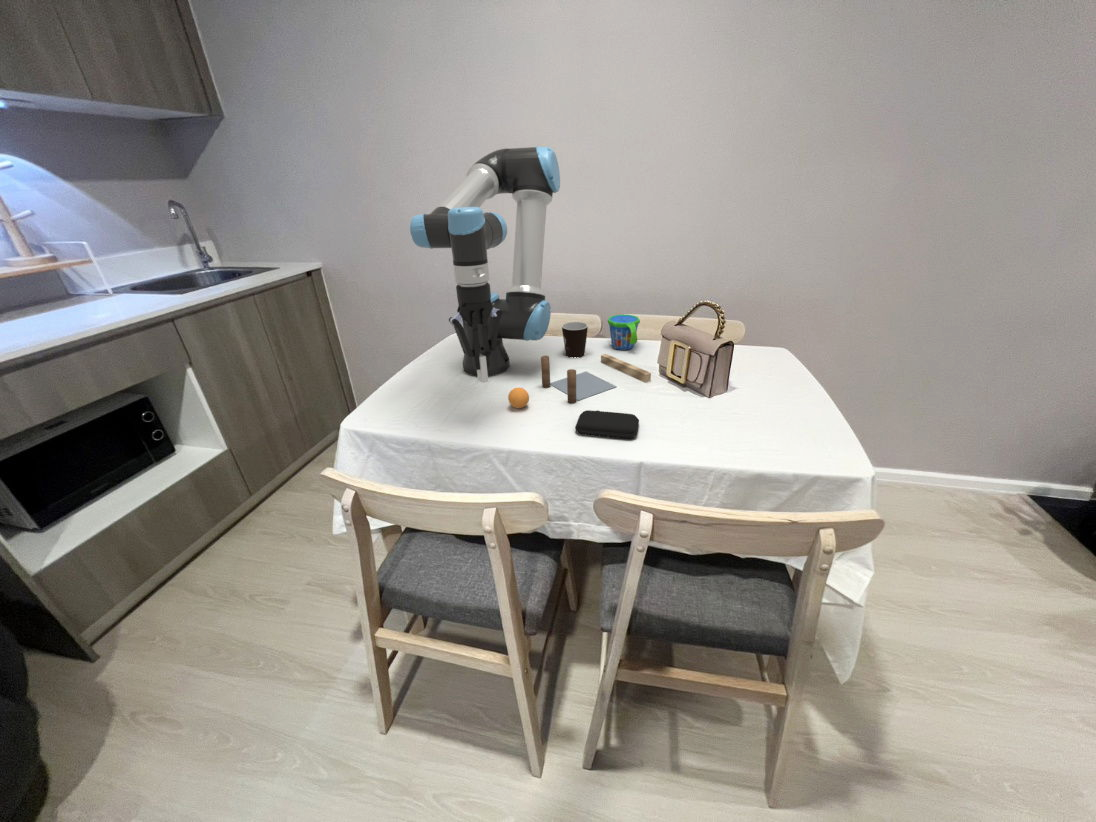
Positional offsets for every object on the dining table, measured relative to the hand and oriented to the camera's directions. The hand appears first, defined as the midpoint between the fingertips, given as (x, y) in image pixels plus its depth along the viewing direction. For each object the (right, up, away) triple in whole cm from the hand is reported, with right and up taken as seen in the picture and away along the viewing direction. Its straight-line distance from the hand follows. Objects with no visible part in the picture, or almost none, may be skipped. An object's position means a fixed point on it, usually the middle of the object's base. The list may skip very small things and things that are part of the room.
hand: (483, 380), depth 113 cm
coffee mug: (+26, +12, +44) cm, 52 cm away
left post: (+16, 0, +21) cm, 26 cm away
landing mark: (+26, 0, +21) cm, 33 cm away
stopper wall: (+40, +5, +29) cm, 49 cm away
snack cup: (+42, +15, +47) cm, 65 cm away
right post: (+23, -5, +12) cm, 26 cm away
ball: (+8, -4, +9) cm, 13 cm away
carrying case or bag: (+31, -12, -1) cm, 33 cm away
